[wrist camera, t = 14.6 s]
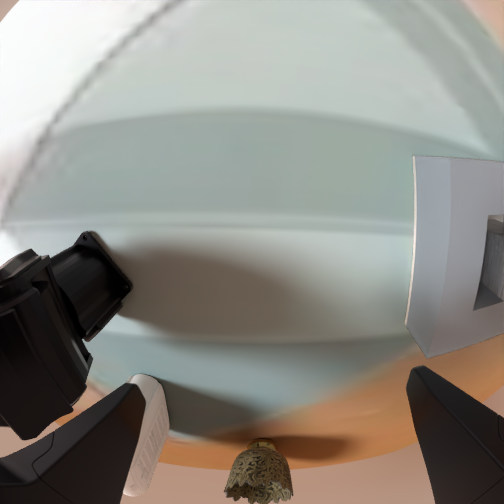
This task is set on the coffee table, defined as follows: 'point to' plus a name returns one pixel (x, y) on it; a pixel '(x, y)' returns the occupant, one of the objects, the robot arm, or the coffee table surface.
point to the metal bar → (494, 258)
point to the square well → (453, 253)
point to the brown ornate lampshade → (260, 474)
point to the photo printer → (148, 435)
